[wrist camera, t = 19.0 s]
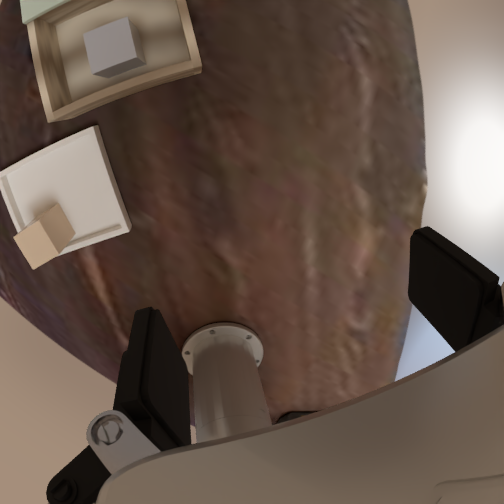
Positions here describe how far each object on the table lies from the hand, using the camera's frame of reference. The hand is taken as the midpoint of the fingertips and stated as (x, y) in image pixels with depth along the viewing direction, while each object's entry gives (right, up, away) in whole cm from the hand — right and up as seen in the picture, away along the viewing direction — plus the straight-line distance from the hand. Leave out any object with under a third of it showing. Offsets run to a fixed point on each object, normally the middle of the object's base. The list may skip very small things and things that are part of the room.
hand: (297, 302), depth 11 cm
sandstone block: (-26, +5, +24) cm, 36 cm away
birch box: (-16, +25, +17) cm, 34 cm away
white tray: (-25, +9, +23) cm, 35 cm away
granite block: (-16, +23, +17) cm, 33 cm away
